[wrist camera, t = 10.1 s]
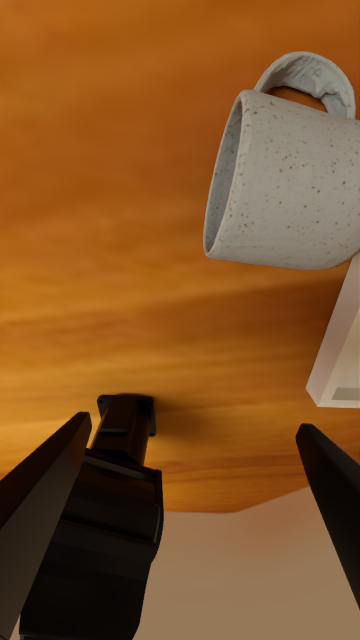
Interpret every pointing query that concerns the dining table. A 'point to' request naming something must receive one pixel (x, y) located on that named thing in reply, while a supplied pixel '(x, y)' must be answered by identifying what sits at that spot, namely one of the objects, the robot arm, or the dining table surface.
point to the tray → (340, 349)
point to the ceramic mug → (288, 172)
